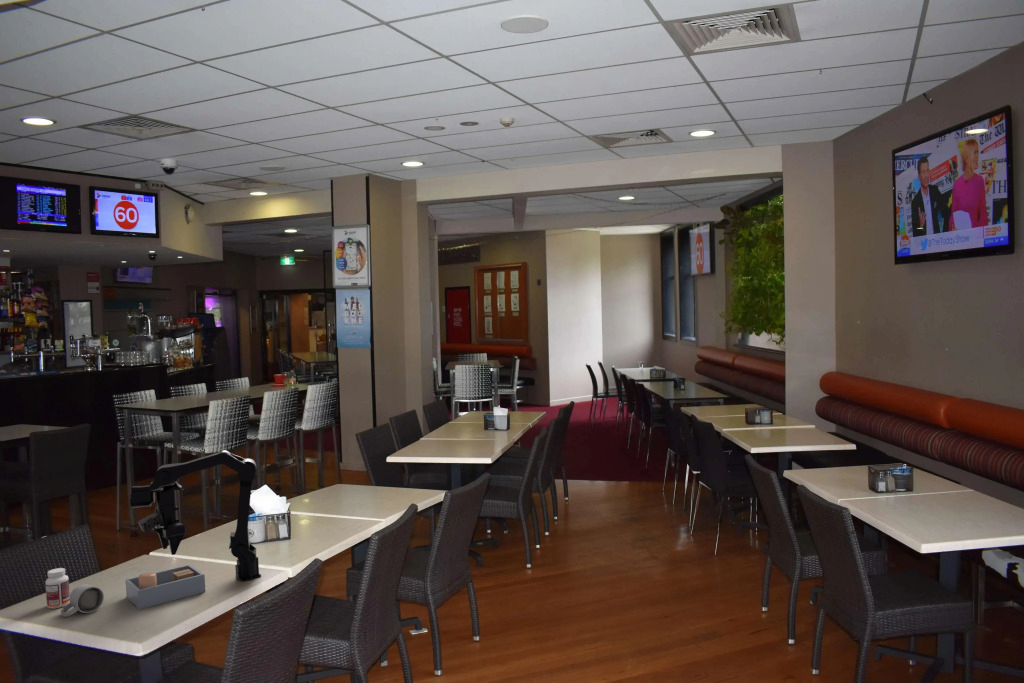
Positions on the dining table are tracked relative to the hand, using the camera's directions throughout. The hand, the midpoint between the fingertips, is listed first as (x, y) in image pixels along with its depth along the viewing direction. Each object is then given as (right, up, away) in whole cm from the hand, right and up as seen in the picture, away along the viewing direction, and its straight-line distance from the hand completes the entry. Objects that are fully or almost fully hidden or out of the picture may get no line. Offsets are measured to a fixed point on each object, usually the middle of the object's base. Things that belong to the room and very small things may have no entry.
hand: (169, 551), depth 239 cm
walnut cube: (+6, -11, -2) cm, 13 cm away
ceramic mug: (-18, -14, -17) cm, 28 cm away
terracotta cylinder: (-2, -12, -9) cm, 15 cm away
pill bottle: (-29, -14, -11) cm, 34 cm away
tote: (+2, -12, -5) cm, 13 cm away
